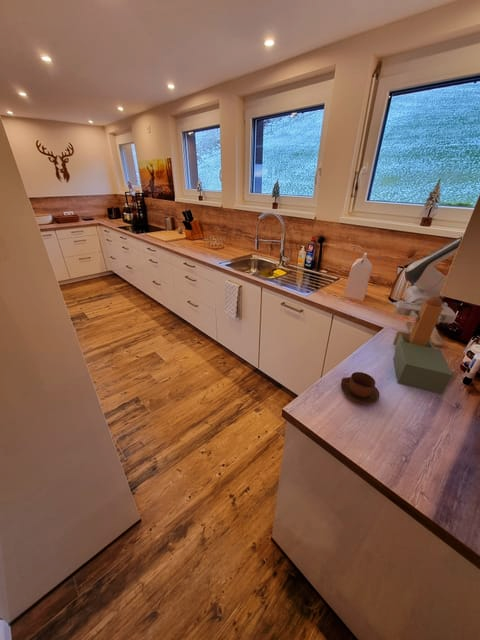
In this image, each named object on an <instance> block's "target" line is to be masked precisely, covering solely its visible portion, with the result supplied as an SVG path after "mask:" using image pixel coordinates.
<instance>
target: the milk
mask: <svg viewBox="0 0 480 640" xmlns="http://www.w3.org/2000/svg"><path fill="white" fill-rule="evenodd" d="M367 256H368V252H364V253H363V255H362V257H361V258H357V259H356V260H355V261H354V262H353V263H352V265H351V267H350V270H349V274H348V277H347V281H346V285H345V289H344V292H343V295H342V297H343V298H348V299H352V300H358V301H361V302H362V301H364V300H365V298H366V295H367V290H368V287H369V282H370V277H371V273H372V269H373V265H372V263H371V261H370V260H369V259H368V258H367Z"/></svg>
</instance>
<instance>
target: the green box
mask: <svg viewBox="0 0 480 640" xmlns="http://www.w3.org/2000/svg"><path fill="white" fill-rule="evenodd" d="M392 360H393V361H392V362H393V365H394V370H395V371H394V372H395V376H396V380H397V384H399V385H403V386H407V387H411V388H414V389H415V388H416V389H419V390H423V391H426V392H430V393H435V394H438V395H443V394H444V392H445V391H446V389H447V387H448V385H449V383H450V382H451V380H452V378H453V376H454V373H453V372H452V370H451V367H450V366H449V364H448V361H447V359H446V358H445V355H444V354H443V351H442V349H439V348H435V347H434V348H430V347H426V346H421V345H416V344H411V343H406V342H401V341H400V342H399V345H398V348H397V350H396V349H395V353H394V356H393V358H392Z"/></svg>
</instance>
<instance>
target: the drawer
mask: <svg viewBox="0 0 480 640" xmlns="http://www.w3.org/2000/svg"><path fill="white" fill-rule="evenodd" d="M410 334H411V332H409V331H405V330H398V329H397V330H396V333H395V335H394V337H393V340H392V344H391V345H392V346H394V347H395V351H396V350H397V348H398V345H399V342H400V341H401V342H406V343H410V340H409V337H410ZM426 347H430V348H435V346H433V345H432V343H431V337H430V338H429V341H428V343H427V345H426Z"/></svg>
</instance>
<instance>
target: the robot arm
mask: <svg viewBox="0 0 480 640" xmlns="http://www.w3.org/2000/svg"><path fill="white" fill-rule="evenodd" d="M462 236H463V235H461V236H459V237H458V238H455V239H453V240H452V241H450V242H448V243H446V244H445V245H443V246H441V247H440V248H438V249H437V250H434V251H433V252H431V253H429V254H427V255H425V256H424V257H422V258H419V259H417V260H415V261H413V262H412V263H410V264H409V265H408V266H407V267H406V268H405V269H404V278H405V280H406V281H407V282H408V283H410V284H412V285H410V286H408V287H407V288H406V289H405V291H404V293H403V299H404V300H397V301H393V302H392V305H393V307H394V310H393V311H394V314H396V315H398V316H403V317H409V318H412V319H413V320H414V321H416V320H417V321H419V319H420V315H418V314H419V312H420V309H421V307H422V304H423V302H424V300H427V299H428V298H430V297H432V296H436V297H439V298H440V299H441V300H442V299H444V298H443V297H441V296H440V291H441V289H442V286H443V283H444V280H445V278H446V277H447V276H446V275H445V274H444V273H442V272H441V271H440V270H439V269H438V268H436V267H435V266H436V265H437V264H440V263H441V262H443V261H445V260H446V259H448V258H451V257H452V256H454V255H457V254H456V251H457V249H458V246H459V244H460V241H461V239H462ZM441 306H442V307H443V309H442V311H441V314H440V316H439V318H438V320H437V323H436V325H439V324H440V323H445V324H453V323H454V322H455V320H456V317H457V314H456V313H455V311H454V310H453V309H452V308H451V307H449V306H448V303H447V302H445V301H442V305H441Z"/></svg>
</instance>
